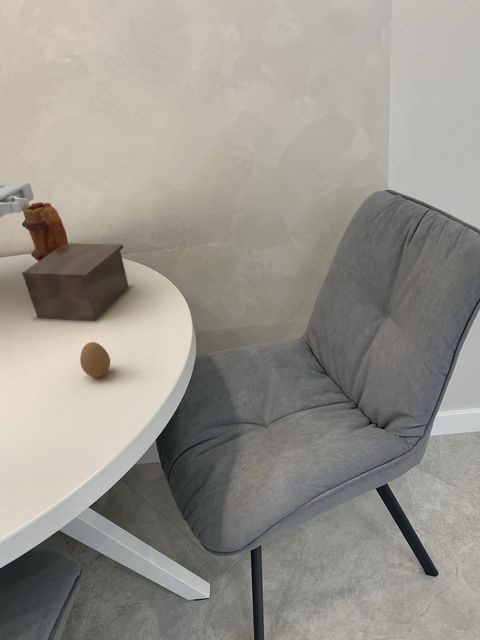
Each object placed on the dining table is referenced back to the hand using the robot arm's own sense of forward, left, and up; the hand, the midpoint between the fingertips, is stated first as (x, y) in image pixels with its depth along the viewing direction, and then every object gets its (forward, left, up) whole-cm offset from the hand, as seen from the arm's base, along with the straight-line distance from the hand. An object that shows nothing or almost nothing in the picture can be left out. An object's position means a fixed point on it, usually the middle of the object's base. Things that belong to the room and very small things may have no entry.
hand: (24, 205), depth 102 cm
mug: (-7, +17, -20) cm, 28 cm away
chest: (+7, -1, -20) cm, 21 cm away
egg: (+20, -27, -20) cm, 39 cm away
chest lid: (+7, -1, -11) cm, 13 cm away
